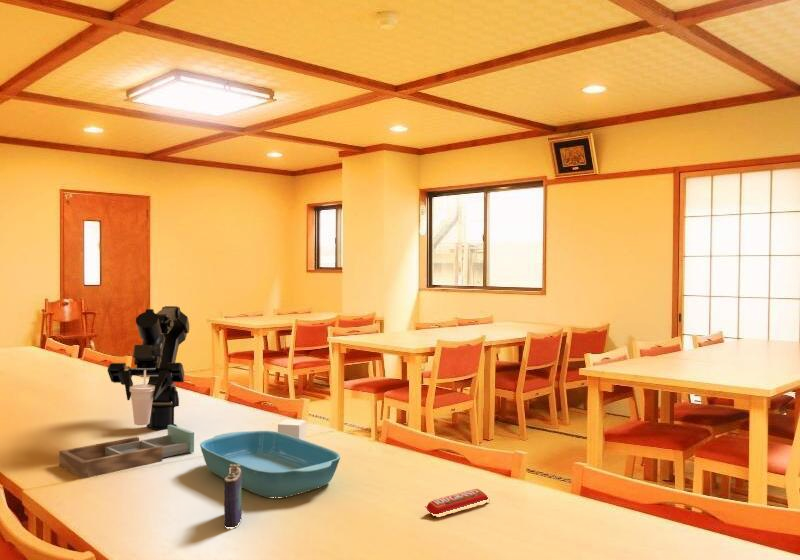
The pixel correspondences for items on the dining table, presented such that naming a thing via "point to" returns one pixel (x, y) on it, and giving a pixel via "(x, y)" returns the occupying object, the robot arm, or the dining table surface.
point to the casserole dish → (271, 461)
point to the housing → (106, 458)
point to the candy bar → (456, 501)
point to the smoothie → (142, 402)
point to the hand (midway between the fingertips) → (141, 399)
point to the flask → (232, 496)
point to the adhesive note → (293, 428)
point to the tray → (159, 443)
